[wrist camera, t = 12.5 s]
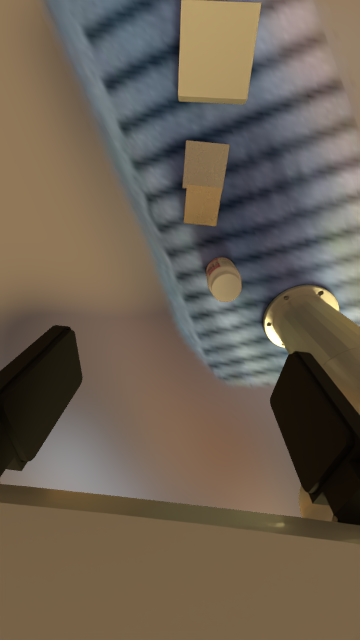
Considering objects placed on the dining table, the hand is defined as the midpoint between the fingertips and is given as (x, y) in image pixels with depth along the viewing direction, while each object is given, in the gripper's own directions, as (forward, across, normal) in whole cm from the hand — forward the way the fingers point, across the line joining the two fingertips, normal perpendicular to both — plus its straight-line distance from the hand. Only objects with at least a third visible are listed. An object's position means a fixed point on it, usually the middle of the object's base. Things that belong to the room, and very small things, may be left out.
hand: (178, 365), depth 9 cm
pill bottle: (+28, -5, +3) cm, 29 cm away
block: (+28, -1, -17) cm, 33 cm away
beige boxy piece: (+28, -1, -9) cm, 30 cm away
